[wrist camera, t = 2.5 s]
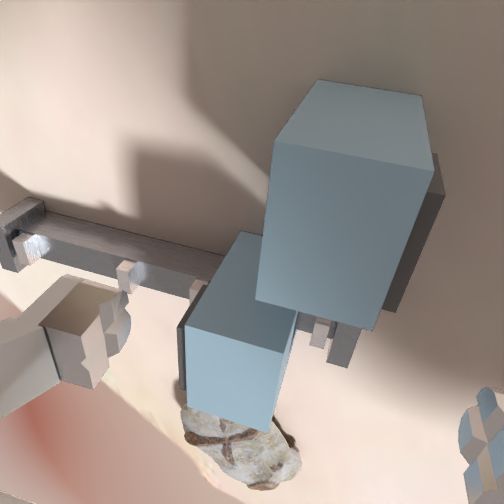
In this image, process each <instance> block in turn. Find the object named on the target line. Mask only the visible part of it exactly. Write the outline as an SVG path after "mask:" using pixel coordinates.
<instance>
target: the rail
mask: <svg viewBox="0 0 504 504" xmlns="http://www.w3.org/2000/svg"><path fill="white" fill-rule="evenodd" d="M225 257H226V256H222V255H218V254H214V253H210V252H206V251H202V250H198V249H194V248H190V247H186V246H182V245H178V244H174V243H170V242H166V241H162V240H158V239H155V238H151V237H147V236H143V235H139V234H135V233H131V232H127V231H123V230H119V229H115V228H111V227H107V226H103V225H99V224H95V223H91V222H87V221H83V220H79V219H75V218H71V217H67V216H63V215H59V214H55V213H51V212H48V211H45V208H44V204H43V201H41V200H37V199H33V198H29V197H27V198H26V199H24V200H22V201H21V202H19V203H18V204H16V205H14V206H13V207H11V208H10V209H8V210H6V211H5V212H3V213H2V214H0V263H1V265H2V268H3V269H6V270H10V271H13V272H17V273H18V272H19V271H21V270H22V269H23V268H24V267H26V266H27V265H32V264H33V263H34V262H35V261H37V260H38V259H39V258H43V259H46V260H50V261H54V262H57V263H61V264H64V265H68V266H71V267H75V268H79V269H82V270H86V271H89V272H93V273H97V274H100V275H104V276H107V277H111V278H115V279H118V284H119V289H121V290H124V291H126V292H127V293H128V294H132V293H133V292H134V290H135V289H136V288H137V287H138V285H140V286H143V287H147V288H151V289H154V290H158V291H161V292H165V293H169V294H172V295H176V296H179V297H183V298H187V299H190V305H191V303H192V302H193V300H194V298H195V297H196V295H197V293H198V292H199V290H200V289H201V287H202V285H203V284H204V285H209V283H210V282H211V280H212V278H213V277H214V275H215V273H216V272H217V270H218V268H219V267H220V265H221V263H222V262H223V260H224V258H225ZM294 329H298V330H302V331H305V332H309V333H312V337H311V341H310V345H311V346H315V347H318V348H322V349H324V346H325V342H326V339H327V338H330V339H331V340H330V345H329V350H328V356H327V361H326V362H327V363H331V364H334V365H338V366H341V367H345V368H348V365H349V362H350V360H351V357H352V354H353V351H354V348H355V346H356V343H357V340H358V337H359V335H360V332H361V329H362V328H359V327H355V326H351V325H348V324H344V323H340V322H337V321H333V320H329V319H325V318H322V317H318V316H314V315H311V314H307V313H303V312H299V311H298V313H297V318H296V323H295V327H294Z"/></svg>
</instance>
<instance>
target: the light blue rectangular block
mask: <svg viewBox="0 0 504 504" xmlns="http://www.w3.org/2000/svg"><path fill="white" fill-rule="evenodd" d="M262 237H263V236H260V235H256V234H252V233H248V232H244V231H240V233H239V235H238V236H237V238H236V240H235V241H234V243H233V245H232V246H231V248H230V250H229V252H228V253H227V255H226V257H225V258H224V260H223V262H222V263H221V265H220V267H219V268H218V270H217V272H216V273H215V275H214V277H213V278H212V280H211V282H210V283H209V285H204V284H203V285H202V287H201V289H200V290H199V292H198V293H197V295H196V297H195V298H194V300H193V302H192V303H191V305H190V306H189V308H188V310H187V311H186V313H185V315H184V316H183V318H182V319H181V321H180V323H179V324H178V326H177V345H178V365H179V386H180V389H183V390H186V391H187V407H190V408H193V409H196V410H199V411H202V412H205V413H208V414H211V415H214V416H217V417H220V418H223V419H226V420H229V421H232V422H235V423H238V424H241V425H244V426H247V427H250V428H253V429H256V430H259V431H262V432H265V433H268V431H269V427H270V424H271V420H272V417H273V413H274V409H275V406H276V402H277V399H278V395H279V392H280V388H281V384H282V381H283V377H284V374H285V370H286V367H287V363H288V360H289V356H290V352H291V349H292V345H293V342H294V338H295V335H296V331H297V329H294V327H295V323H296V318H297V313H298V311H296V310H292V309H288V308H285V307H281V306H277V305H273V304H270V303H266V302H262V301H259V300H255V296H256V288H257V280H258V271H259V263H260V254H261V246H262Z"/></svg>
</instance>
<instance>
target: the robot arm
mask: <svg viewBox="0 0 504 504" xmlns="http://www.w3.org/2000/svg"><path fill="white" fill-rule="evenodd" d="M128 303H129V301H128V296H127V292H126V291H124V290H121V289H118V288H114V287H111V286H107V285H104V284H101V283H97V282H94V281H90V280H87V279H83V278H79V277H76V276H72V275H69V274H67V275H65V276H62V277H60V278H59V279H58V280H57V281H56V282H55V283H54V284H53V285H52V286H51V287H50V288H48V289H47V290H46V291H45V292H44V293H43V294H42V295H41V296H40V297H39V298H38V299H37V300H36V301H35V302H34V303H32V304H31V305H30V306H29V307H28V308H27V309H26V310H25V311H24V312H23V313H22V314H21V315H20V316H19V317H18V318H17V319H14V318H8V319H5V320H2V321H0V419H2V418H3V417H5V416H6V415H8V414H10V413H11V412H13V411H15V410H16V409H18V408H19V407H21V406H23V405H24V404H26V403H28V402H29V401H31V400H32V399H34V398H36V397H37V396H39V395H40V394H42V393H44V392H45V391H47V390H49V389H50V388H52V387H53V386H55V385H57V384H58V383H60V380H61V381H65V382H68V383H72V384H75V385H79V386H82V387H86V388H89V389H94V388H95V386H96V385H97V384H98V382H99V381H100V379H101V378H102V377H103V375H104V374H105V372H106V371H107V369H108V368H109V359H108V358H109V357H111V356H113V355H115V354H117V353H119V352H120V351H121V349H122V348H123V346H124V345H125V343H126V340H127V338H128V335H129V333H130V327H131V317H130V315H129V313H128V312H127V311H126V310H125V306H126V305H127V304H128ZM477 401H478V405H477V406H474V407H471V408H468V409H467V410H466V412H465V413H464V415H463V417H462V418H461V422H460V426H459V434H458V441H459V448H460V453H461V454H462V455H463V457H464V458H465V459H466V461H467V462H468V463H469V467H468V468H467V469H466V471H465V472H464V479H465V485H466V491H467V497H468V503H469V504H504V391H503V390H499V389H495V388H491V387H486V388H484V389H482V390H481V391H480V393H479V394H478V395H477ZM0 504H37V503H34V502H31V501H29V500H26V499H23V498H21V497H18V496H15V495H12V494H10V493H7V492H5V491H2V490H0Z"/></svg>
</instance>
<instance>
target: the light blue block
mask: <svg viewBox="0 0 504 504" xmlns="http://www.w3.org/2000/svg"><path fill="white" fill-rule="evenodd" d="M444 197H445V191H444V186H443V181H442V176H441V171H440V166H439V161H438V156H437V154H433V153H431V148H430V142H429V136H428V130H427V125H426V119H425V113H424V107H423V102H422V96H420V95H413V94H407V93H401V92H394V91H388V90H382V89H376V88H369V87H363V86H357V85H350V84H344V83H338V82H331V81H325V80H319V79H317V81H316V82H315V84H314V85H313V86H312V88H311V89H310V91H309V92H308V93H307V95H306V96H305V98H304V99H303V100H302V102H301V103H300V105H299V106H298V108H297V109H296V110H295V112H294V113H293V115H292V116H291V117H290V119H289V120H288V122H287V123H286V124H285V126H284V127H283V129H282V130H281V131H280V133H279V134H278V136H277V137H276V138H275V140H274V144H273V153H272V161H271V170H270V178H269V187H268V195H267V203H266V212H265V220H264V229H263V237H262V246H261V254H260V263H259V271H258V280H257V288H256V296H255V300H259V301H262V302H266V303H270V304H273V305H277V306H281V307H285V308H288V309H292V310H296V311H299V312H303V313H307V314H311V315H314V316H318V317H322V318H325V319H329V320H333V321H337V322H340V323H344V324H348V325H351V326H355V327H359V328H363V329H366V330H370V331H373V328H374V326H375V323H376V321H377V318H378V315H379V313H380V310H381V309H383V310H387V311H391V312H395V313H396V311H397V308H398V306H399V304H400V301H401V299H402V296H403V294H404V292H405V289H406V287H407V285H408V282H409V280H410V278H411V275H412V273H413V270H414V268H415V266H416V263H417V261H418V259H419V256H420V254H421V252H422V249H423V247H424V245H425V242H426V240H427V237H428V235H429V233H430V230H431V228H432V226H433V223H434V221H435V219H436V216H437V214H438V211H439V209H440V207H441V204H442V202H443V200H444Z"/></svg>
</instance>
